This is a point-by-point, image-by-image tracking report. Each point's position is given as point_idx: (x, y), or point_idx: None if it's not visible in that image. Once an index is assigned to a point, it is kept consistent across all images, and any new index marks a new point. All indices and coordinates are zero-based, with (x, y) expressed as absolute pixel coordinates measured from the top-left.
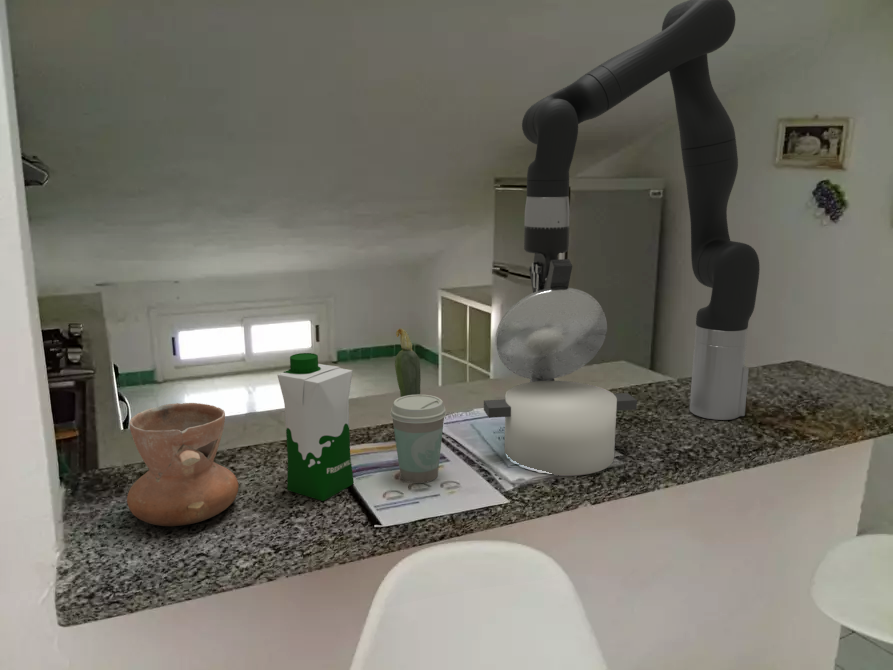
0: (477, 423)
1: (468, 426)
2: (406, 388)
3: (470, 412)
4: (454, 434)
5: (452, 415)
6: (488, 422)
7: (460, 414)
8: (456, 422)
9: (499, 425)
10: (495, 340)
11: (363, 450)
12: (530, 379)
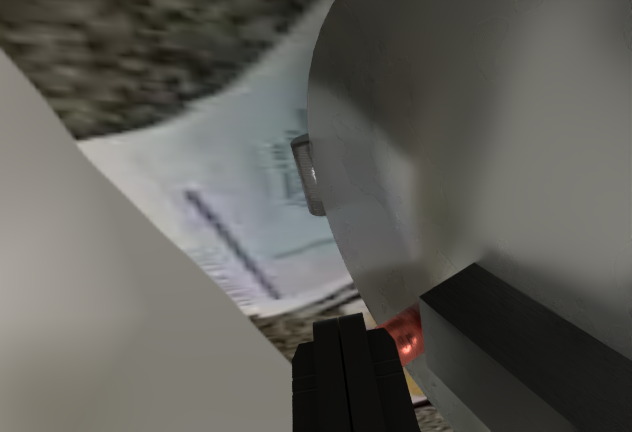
0: (270, 247)
1: (290, 261)
2: None
3: (200, 263)
4: (337, 279)
5: (227, 291)
6: (260, 228)
7: (218, 279)
8: (269, 281)
9: (277, 206)
10: (450, 425)
11: (408, 376)
12: (313, 213)
